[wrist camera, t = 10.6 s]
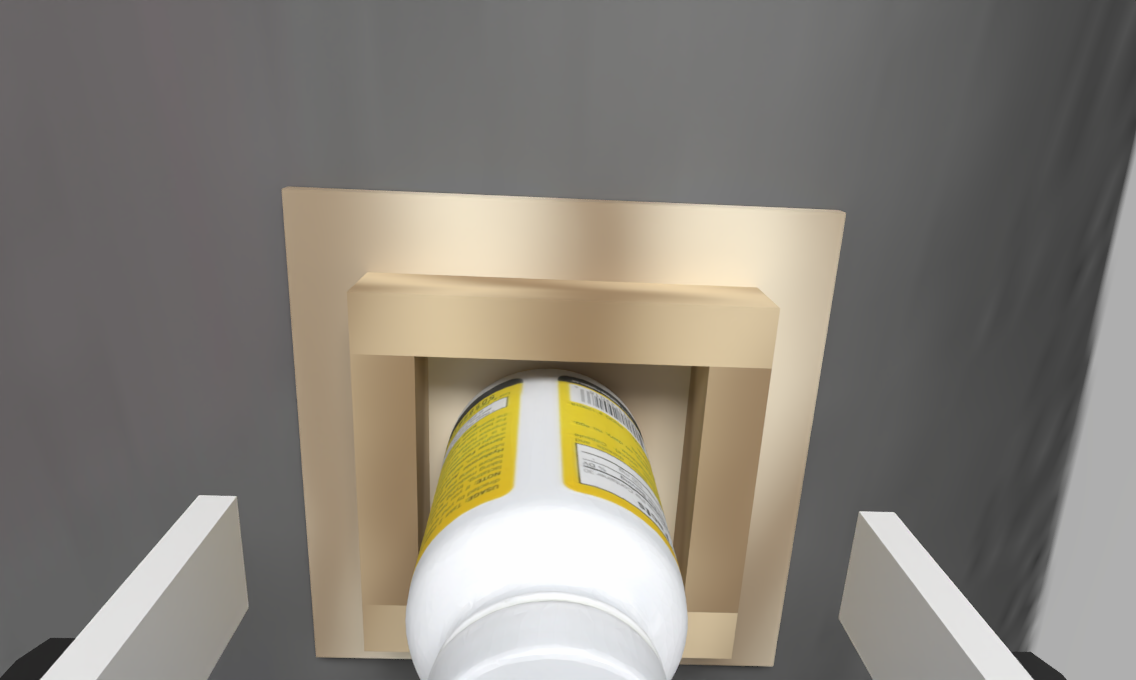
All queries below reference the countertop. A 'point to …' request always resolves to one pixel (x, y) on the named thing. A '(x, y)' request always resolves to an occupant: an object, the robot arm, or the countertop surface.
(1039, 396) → the countertop surface
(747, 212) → the beige square tray
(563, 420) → the supplement bottle
